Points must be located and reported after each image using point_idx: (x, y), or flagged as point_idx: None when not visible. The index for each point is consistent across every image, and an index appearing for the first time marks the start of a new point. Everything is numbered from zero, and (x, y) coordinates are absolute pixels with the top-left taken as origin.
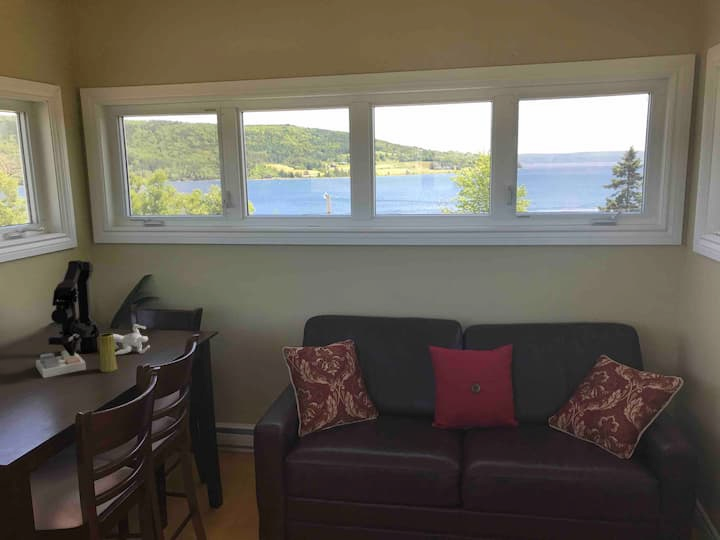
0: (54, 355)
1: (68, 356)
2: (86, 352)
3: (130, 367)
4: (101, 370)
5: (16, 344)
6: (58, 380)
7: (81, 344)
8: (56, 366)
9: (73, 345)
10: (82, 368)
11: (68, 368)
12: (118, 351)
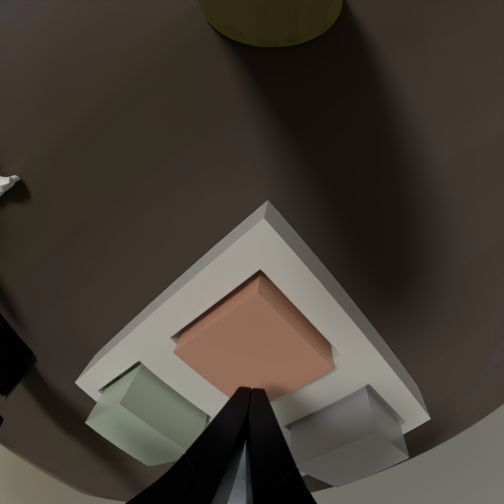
0: (243, 478)
1: (175, 413)
2: (19, 344)
3: None
4: (330, 22)
5: (84, 488)
6: (485, 282)
7: (5, 386)
8: (374, 398)
9: (256, 502)
10: (286, 226)
11: (359, 319)
12: None
